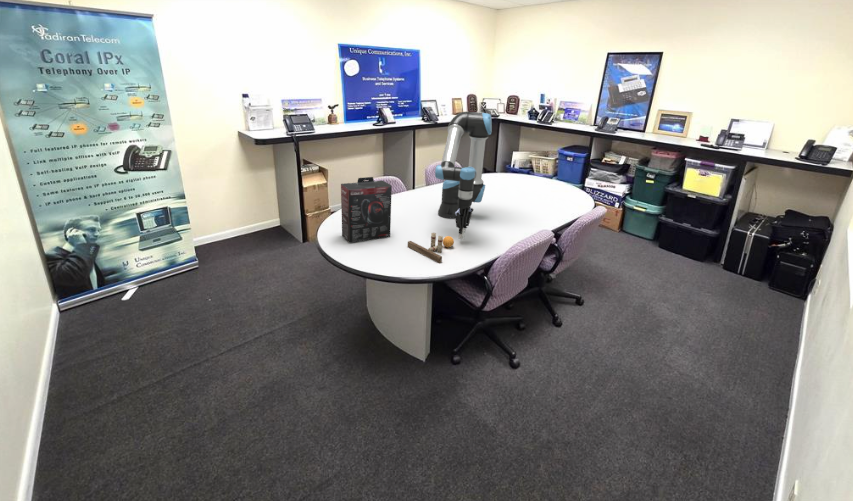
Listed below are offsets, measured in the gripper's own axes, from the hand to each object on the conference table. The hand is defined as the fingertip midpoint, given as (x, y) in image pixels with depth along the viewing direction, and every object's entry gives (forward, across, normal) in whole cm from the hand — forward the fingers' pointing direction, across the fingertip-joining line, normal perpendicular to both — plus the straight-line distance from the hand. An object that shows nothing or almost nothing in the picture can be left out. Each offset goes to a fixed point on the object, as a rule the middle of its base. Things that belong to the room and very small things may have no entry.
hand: (461, 238), depth 228 cm
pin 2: (+2, -19, -2) cm, 19 cm away
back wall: (+2, -28, 0) cm, 28 cm away
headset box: (+2, -38, +36) cm, 52 cm away
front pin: (+1, -15, 0) cm, 15 cm away
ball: (-1, -11, -1) cm, 11 cm away
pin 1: (+2, -19, +3) cm, 19 cm away
